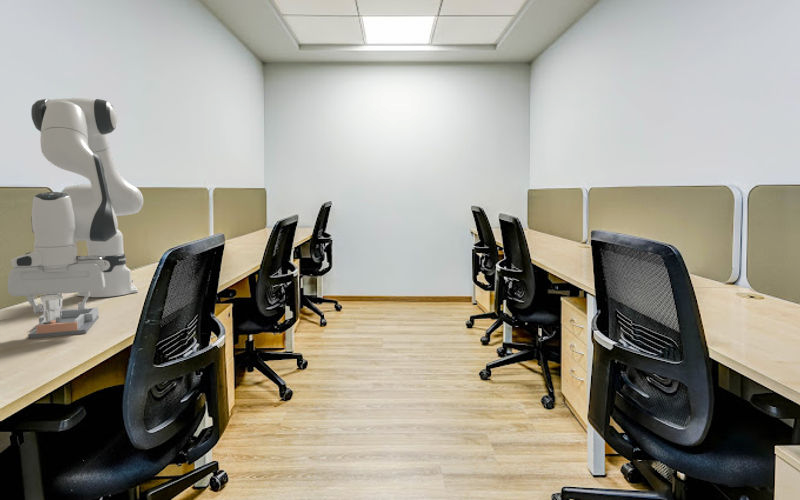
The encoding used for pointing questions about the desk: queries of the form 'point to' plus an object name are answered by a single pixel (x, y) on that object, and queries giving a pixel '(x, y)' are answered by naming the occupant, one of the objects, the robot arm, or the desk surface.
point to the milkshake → (52, 308)
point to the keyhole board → (67, 323)
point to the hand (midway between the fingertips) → (60, 310)
